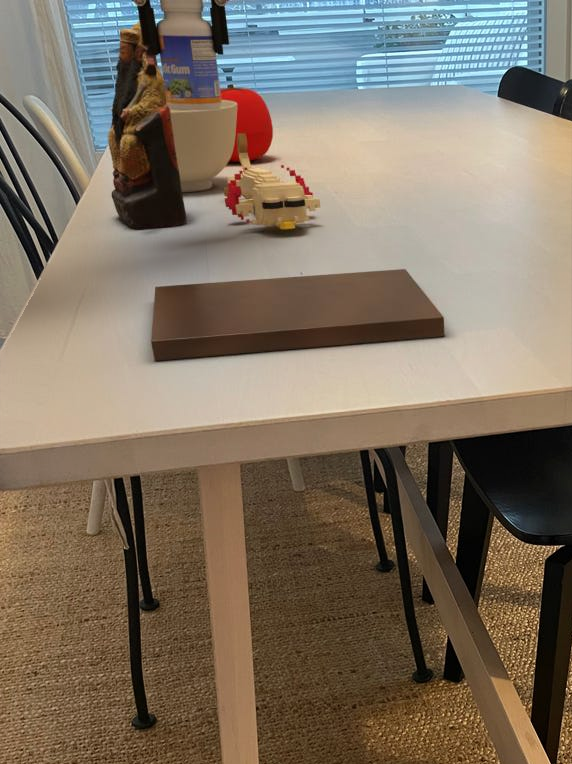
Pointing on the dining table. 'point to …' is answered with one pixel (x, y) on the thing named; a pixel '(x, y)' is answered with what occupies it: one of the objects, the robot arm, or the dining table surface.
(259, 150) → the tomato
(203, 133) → the bowl
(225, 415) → the dining table surface
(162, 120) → the statue
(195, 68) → the pill bottle
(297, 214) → the axolotl toy
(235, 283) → the board
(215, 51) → the robot arm
